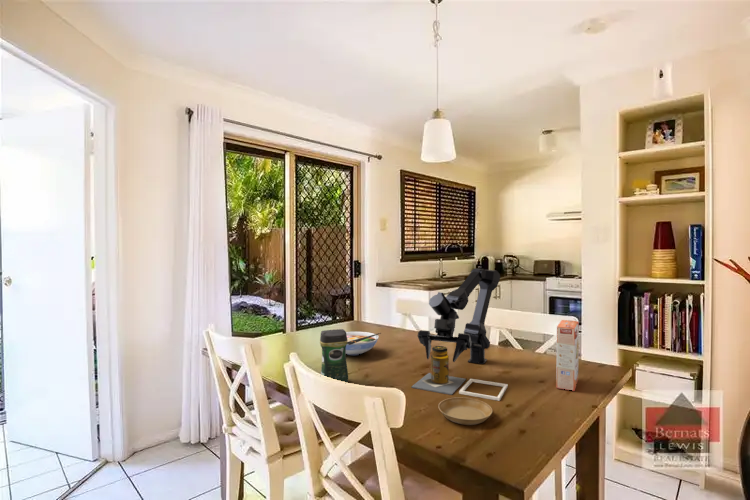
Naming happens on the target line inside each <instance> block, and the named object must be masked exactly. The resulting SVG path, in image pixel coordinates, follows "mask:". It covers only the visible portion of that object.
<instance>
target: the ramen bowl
mask: <svg viewBox="0 0 750 500" xmlns="http://www.w3.org/2000/svg"><path fill="white" fill-rule="evenodd" d="M381 334H382V332H378V333H372V332H368V331H346V335H347V345H346V354H347V355H346V356H359V354H360V355H362V354H363V353H364V354H365V353H366V352H369V351H370V350H371V349H373V348H374V347H375V346H376V344H377V343H378V340H379V335H381Z"/></svg>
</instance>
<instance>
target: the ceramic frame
mask: <svg viewBox="0 0 750 500" xmlns="http://www.w3.org/2000/svg"><path fill="white" fill-rule="evenodd" d="M472 383H475V384H476V383H478V384H484V385H489V386H494V387H495V386H496V387H501V390H500V392H499V394H498V395H497V396H494V395H487V394H482V393H477V392H471V391H466V390H467V389H468V387H469V386H470V385H471V384H472ZM507 389H508V383H502V382H496V381H495V382H494V381H487V380H482V379H476V378H469V380H468V381H467V382H465V384H464V385H463V386H462V387H461V388H460V389H459V391H458V394H459V395H465V396H470V397H476V398H482V399H487V400H492V401H499V402H500V401H501V399H502V397H503V395H504V394H505V393H506V391H507Z"/></svg>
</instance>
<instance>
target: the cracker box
mask: <svg viewBox="0 0 750 500" xmlns="http://www.w3.org/2000/svg"><path fill="white" fill-rule="evenodd" d="M579 324H580V323H579V321H577V320H570V319H568V320H567V319H561V321H560V322H559V323H558V325H556V365H555V366H556V373H555V374H556V375H555V377H556V378H555V380H556V381H555V386H556V389H560V390H564V389H565V391H569V390H572V391H571V392H575V391H576V387H577V385H576V384H578V381H579V356H580V355H579V352H580V351H579V347H580V346H579V344H580V343H579V339H580V338H579V336H580V334H579V332H580V331H579V330H580V326H579Z"/></svg>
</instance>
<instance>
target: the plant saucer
mask: <svg viewBox="0 0 750 500" xmlns="http://www.w3.org/2000/svg"><path fill="white" fill-rule="evenodd" d="M437 406H438V407H437V408H438V410H439V411H440V413H441V414H442V415H443V416H444V417H445V418H446V419H447V420H448V421H450V422H452V423H455V424H457V425H458V424H459V425H463V426H464V425H465V426H473V425H474V426H475V425H479V424H481V423H484V422H485V421H487V419H488V418H490V416H492V414H493V408H492V407H491V405H489V403H486V402H485V401H482V400H480V399H475V398H471V397H461V396H460V397H459V396H457V397H456V396H455V397H451V398H450V397H449V398H446V399H443V400H441V401H440V402H439V403H438V405H437Z"/></svg>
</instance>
